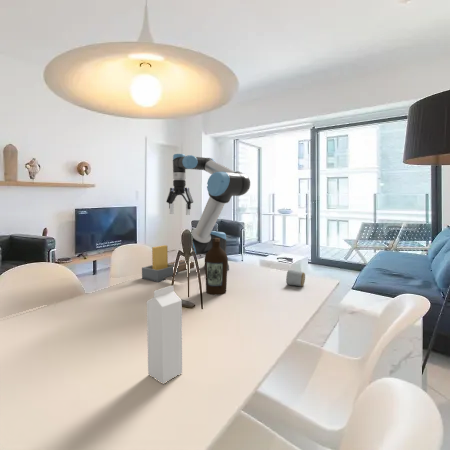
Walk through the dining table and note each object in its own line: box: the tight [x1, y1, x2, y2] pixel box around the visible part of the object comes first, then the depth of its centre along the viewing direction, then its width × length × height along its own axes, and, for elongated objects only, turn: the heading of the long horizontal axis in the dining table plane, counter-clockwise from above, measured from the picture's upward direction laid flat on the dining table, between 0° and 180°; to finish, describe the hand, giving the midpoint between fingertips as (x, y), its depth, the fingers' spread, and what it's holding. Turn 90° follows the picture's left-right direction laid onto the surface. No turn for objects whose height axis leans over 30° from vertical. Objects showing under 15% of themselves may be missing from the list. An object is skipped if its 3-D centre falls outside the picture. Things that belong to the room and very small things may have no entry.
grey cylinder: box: [285, 268, 306, 287], centre depth 152 cm, size 11×8×8 cm
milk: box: [146, 285, 183, 383], centre depth 74 cm, size 6×6×22 cm
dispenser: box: [168, 259, 195, 273], centre depth 178 cm, size 10×14×6 cm
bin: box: [141, 264, 179, 283], centre depth 164 cm, size 12×15×6 cm
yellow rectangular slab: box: [151, 244, 169, 270], centre depth 164 cm, size 2×9×16 cm, turn 146°
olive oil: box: [204, 238, 229, 296], centre depth 139 cm, size 11×11×25 cm
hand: (179, 214), depth 188 cm, fingers open, 13 cm apart
